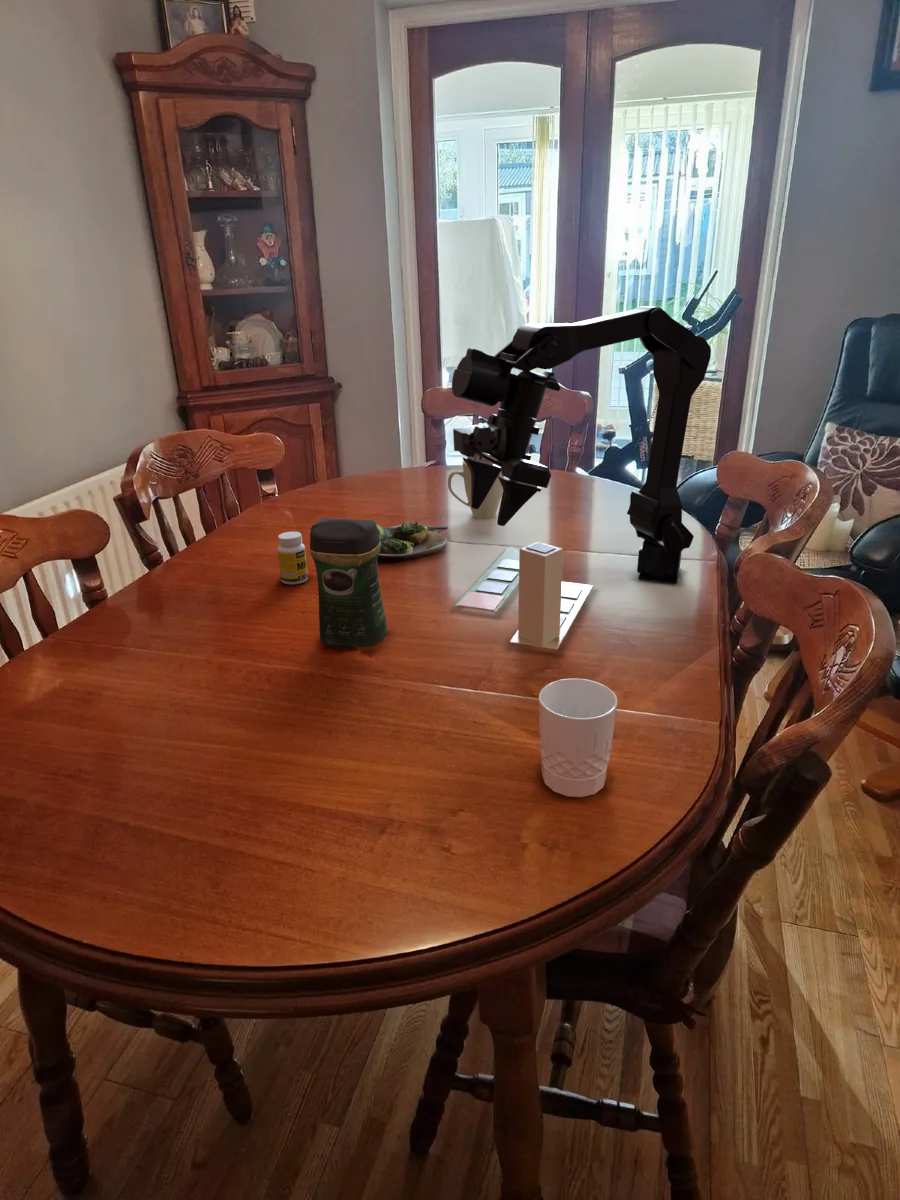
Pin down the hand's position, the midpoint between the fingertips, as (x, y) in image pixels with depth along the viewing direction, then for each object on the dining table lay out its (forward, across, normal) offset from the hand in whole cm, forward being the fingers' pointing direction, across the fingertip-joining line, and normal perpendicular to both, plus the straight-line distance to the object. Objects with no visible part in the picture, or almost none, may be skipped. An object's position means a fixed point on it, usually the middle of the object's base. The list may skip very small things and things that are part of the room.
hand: (487, 516), depth 113 cm
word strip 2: (+12, +7, +13) cm, 19 cm away
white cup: (+18, +42, -4) cm, 46 cm away
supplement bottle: (+23, -26, -19) cm, 40 cm away
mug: (+9, -44, +23) cm, 51 cm away
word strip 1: (+12, -10, +12) cm, 20 cm away
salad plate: (+16, -34, +2) cm, 38 cm away
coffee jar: (+22, +1, -16) cm, 27 cm away
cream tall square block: (+13, +13, +6) cm, 20 cm away
